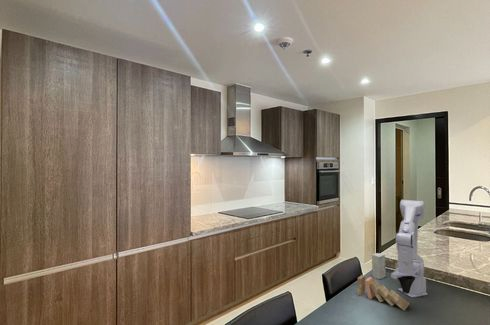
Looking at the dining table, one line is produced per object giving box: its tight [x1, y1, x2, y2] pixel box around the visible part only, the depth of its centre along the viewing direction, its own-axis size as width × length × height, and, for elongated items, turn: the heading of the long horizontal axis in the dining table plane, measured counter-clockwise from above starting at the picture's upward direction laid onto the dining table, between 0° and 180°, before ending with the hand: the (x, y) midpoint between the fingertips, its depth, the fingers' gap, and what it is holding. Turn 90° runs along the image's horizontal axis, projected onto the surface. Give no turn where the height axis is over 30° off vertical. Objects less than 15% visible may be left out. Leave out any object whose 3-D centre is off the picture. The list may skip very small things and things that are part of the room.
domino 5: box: [387, 289, 410, 311], centre depth 117 cm, size 2×5×8 cm
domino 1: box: [357, 274, 366, 297], centre depth 128 cm, size 2×5×8 cm, turn 134°
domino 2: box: [365, 276, 376, 300], centre depth 125 cm, size 2×5×8 cm, turn 134°
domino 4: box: [377, 284, 396, 307], centre depth 120 cm, size 2×5×8 cm
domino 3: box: [369, 279, 386, 303], centre depth 123 cm, size 2×5×8 cm
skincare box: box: [371, 252, 386, 280], centre depth 146 cm, size 6×4×12 cm
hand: (405, 292), depth 115 cm, fingers closed
